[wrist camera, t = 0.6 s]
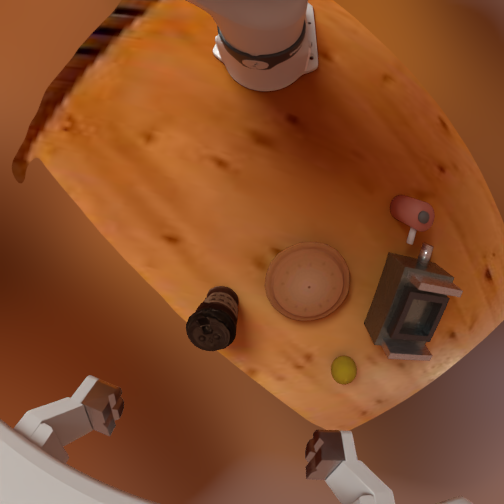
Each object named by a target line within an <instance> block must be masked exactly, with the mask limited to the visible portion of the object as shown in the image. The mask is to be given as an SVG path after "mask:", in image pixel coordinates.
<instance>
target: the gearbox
mask: <svg viewBox="0 0 504 504" xmlns="http://www.w3.org/2000/svg"><path fill="white" fill-rule="evenodd" d="M433 248H434V247H433V246H432V245H429V244H427V243H422V247H421V250H420V253H419V256H418V259H415V258H411V257H407V256H403V255H398V254H394V253H390V252H389V253H388V257H387V260H386V263H385V266H384V269H383V272H382V275H381V278H380V281H379V284H378V287H377V290H376V293H375V296H374V298H373V301H372V304H371V306H370V309H369V312H368V314H367V317H366V319H365V322H364V324H365V326H366V328H367V330H368V332H369V334H370V337H371V339H372V341H373V343H374V345H381V346H382V348H383V350H384V352H385V354H386V356H387V358H388V359H403V360H427V361H430V359H431V357H432V354H431V353H430V351H429V350H428V348H427V347H426V345H425V343H426V342H430V340H431V338H432V336H433V334H434V332H435V330H436V328H437V326H438V324H439V321H440V319H441V317H442V315H443V313H444V310H445V308H446V306H447V303H448V301H449V298H448V297H447V295H451V296H457V297H461V294H462V292H463V291H462V290H461V289H460V288H459V287H458V286H456V285H455V284H454V283H453V279H454V277H453V276H451V275H450V274H449V273H447V272H446V271H445V270H443V269H442V268H441V267H439V266H438V265H437V264H435V263H432V262H429V260H430V257H431V254H432V251H433Z"/></svg>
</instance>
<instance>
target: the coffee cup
mask: <svg viewBox="0 0 504 504" xmlns="http://www.w3.org/2000/svg"><path fill="white" fill-rule="evenodd" d="M237 317H238V297H237V295H236V293H235V292H234V291H233V290H231V289H230V288H228V287H224V286H218V287H214V288H212V289H210V290H209V292H208V294H207V298H205V300H204V301H203V302H202V303H201V304H200V306H199V307H198V308H197V310H196V312H195V313H193V314H192V315H191V316H190V317H189V319H188V322H187V324H186V331H187V335H188V337H189V339H190V340H191V342H192V343H193V344H194V345H195V346H196V347H198V348H200V349H202V350H206V351H216V350H220V349H224V348H226V347H227V346H229V345H230V344H231V343H232V342H233V340H234V339H235V336H236V327H237V326H236V324H237Z"/></svg>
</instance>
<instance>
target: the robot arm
mask: <svg viewBox="0 0 504 504" xmlns="http://www.w3.org/2000/svg"><path fill="white" fill-rule="evenodd" d="M186 1H188V2H190V3H192V4H194V5H196V6H198V7H200V8H201V9H203V10H205V11H206V12H207V13H209V14H210V15H211V16H212V17H213V19H214V20H215V22H216V24H217V27H218V36H216V37H215V42H216V44H215V46H214V48H213V54H214V56H215V57H216V58H218V59H219V60H220V61H222V62H223V63H224V64H225V66H226V68H227V70H228V72H229V74H230V75H231V76H232V78H233V79H234V80H235V81H237V82H238V83H239V84H241V85H243V86H244V87H247V88H249V89H252V90H257V91H274V90H279V89H282V88H284V87H286V86H288V85H290V84H292V83H293V82H294V81H296V80H297V79H298V78H299V77H300V76H301V75H303V74H306V73H309V72H312V71H314V70H316V69H317V67H318V53H317V42H316V31H315V21H314V13H313V7H312V5H310V4H309V3H308V0H186ZM310 57H312V58H313V60H310V59H309V58H310ZM121 394H122V390H121V388H120V387H117V386H114V385H112V384H110V383H107V382H105V381H102V380H100V379H98V378H96V377H93V376H91V375H89V376H88V377H86V379H85V380H84V381H83V383H82V384H81V385H80V387H79V388H78V389H77V391H76V392H75V393H74V395H73V396H72V397H71V398H69V397H67V398H64V399H62V400H59V401H56V402H53V403H50V404H47V405H44V406H41V407H38V408H35V409H32V410H29V411H27V412H26V413H25V415H24V416H23V417H22V419H21V420H20V421H19V422H18V424H17V425H16V426H15V428H14V429H12V428H11V427H10V426H8V425H7V424H6V423H5V422H3V421H2V420H1V419H0V504H159V503H156V502H153V501H149V500H147V499H143V498H141V497H138V496H135V495H132V494H130V493H127V492H125V491H122V490H120V489H117V488H114V487H112V486H110V485H108V484H105V483H103V482H101V481H99V480H97V479H94V478H92V477H90V476H88V475H86V474H84V473H82V472H80V471H78V470H76V469H75V468H73V467H71V466H69V465H67V464H66V462H67V460H68V459H69V456H68V454H67V453H66V451H65V449H64V448H63V446H65V445H67V444H69V443H70V442H72V441H74V440H76V439H78V438H80V437H82V436H83V435H85V434H87V433H89V432H90V431H92V430H93V429H94V430H96V431H98V432H101V433H103V434H105V435H108V436H110V435H111V433H112V431H113V429H114V428H115V426H116V425H115V420H117V419H119V418H120V417H121V415H122V412H123V409H124V401H123V399H122V397H121ZM305 458H306V460H307V461H308V462H309V463H308V465H307V466H306V479H316V480H325V481H326V483H327V484H328V486H329V487H330V488H331V490H332V491H333V492H334V494H335V495H336V497H337V498H338V499H339V501H340V502H341V503H342V504H395V501H394V497H393V492H392V490H391V489H389V488H388V487H387V486H386V485H385V484H384V483H383V482H382V481H381V480H380V479H379V478H378V477H377V476H376V475H375V474H374V473H373V472H372V471H371V470H370V469H369V468H368V467H367V466H366V465H365V464H364V463H363V462H362V461H358V459H357V454H356V449H355V444H354V440H353V435H352V432H351V431H339V430H316V431H315V432H314V433H313V438H312V439H310V440H309V442H308V443H307V447H306V451H305ZM436 504H473V503H472V502H471V501H469V500H468V499H466V498H464V497H462V496H458V497H454V498H451V499H448V500H445V501H442V502H440V503H436Z"/></svg>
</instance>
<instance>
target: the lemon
mask: <svg viewBox="0 0 504 504" xmlns="http://www.w3.org/2000/svg"><path fill="white" fill-rule="evenodd" d="M356 372H357V368H356V364H355V362H354V361H353V359H351V358H350V357H348V356H340V357H338V358H336V359H335V360H334V361H333V363H332V366H331V373H332V376H333V378H334V380H335V381H336V382H337V383H339V384H348V383H350V382H352V381H353V380H354V378H355V377H356Z"/></svg>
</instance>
